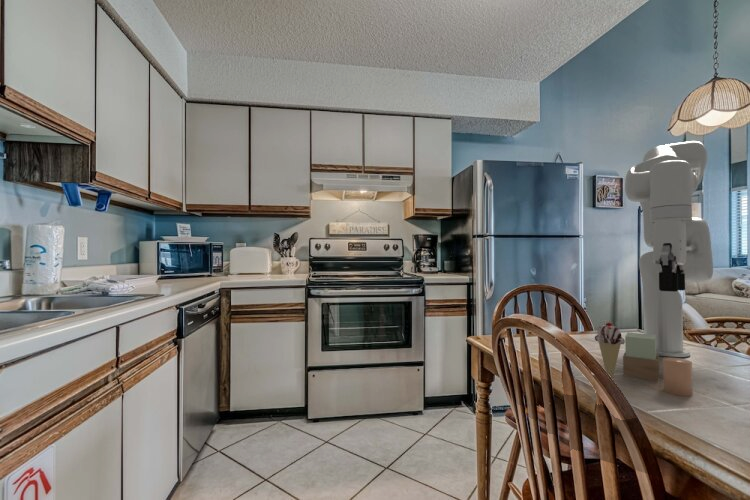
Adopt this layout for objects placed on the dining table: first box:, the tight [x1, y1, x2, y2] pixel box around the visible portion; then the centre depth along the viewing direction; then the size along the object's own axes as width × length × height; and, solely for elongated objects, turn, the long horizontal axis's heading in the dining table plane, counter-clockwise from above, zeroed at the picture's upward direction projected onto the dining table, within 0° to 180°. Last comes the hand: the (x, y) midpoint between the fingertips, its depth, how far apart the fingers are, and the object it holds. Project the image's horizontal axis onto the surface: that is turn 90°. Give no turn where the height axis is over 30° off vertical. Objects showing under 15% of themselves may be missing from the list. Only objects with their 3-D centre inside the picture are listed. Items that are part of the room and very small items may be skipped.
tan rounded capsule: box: [662, 356, 694, 398], centre depth 81 cm, size 5×5×7 cm
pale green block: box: [624, 332, 656, 360], centre depth 93 cm, size 6×6×5 cm
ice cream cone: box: [594, 322, 625, 379], centre depth 84 cm, size 6×6×15 cm
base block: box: [622, 350, 660, 382], centre depth 93 cm, size 7×7×5 cm
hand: (672, 290), depth 83 cm, fingers open, 9 cm apart
